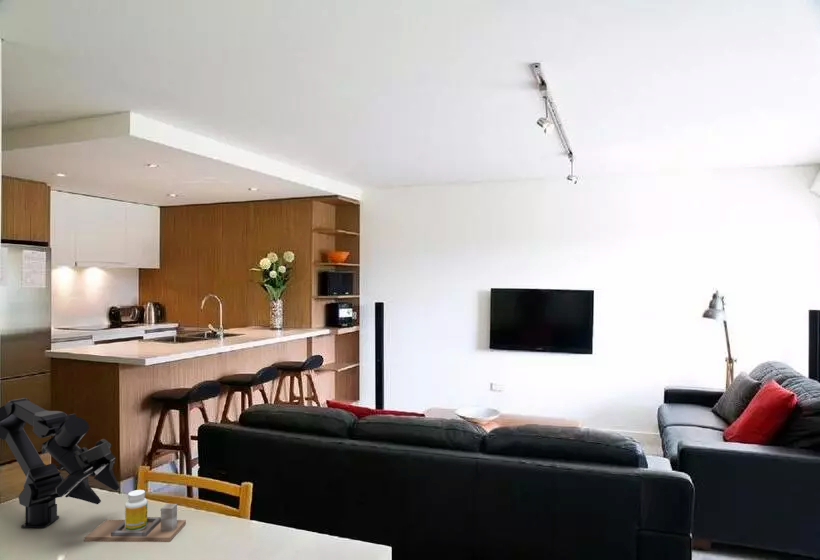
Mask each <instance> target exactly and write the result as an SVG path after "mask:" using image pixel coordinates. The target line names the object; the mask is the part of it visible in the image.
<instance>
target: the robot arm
mask: <svg viewBox="0 0 820 560" xmlns="http://www.w3.org/2000/svg"><path fill="white" fill-rule="evenodd" d="M26 424H29V425H30V426H32V432H33V433H34V434H35V435H36V436H37V437H38V438H39V439H42V438H47V437H50V438H49V439H47V440H46V441H44V442H42V443H41V453H42V454H43V455H44V454H46V453H48V454H49V455H50V456H51V457H52V458H53V459H54V460H55V461H56V462H57V463H58V464H59V465H58V466H57V465H56V464H55V463H53V462H52V463H48V464H45V462H44V460H43V459H42V457H41V456H40V454H39V453H38V451H37V449H36V448H35V446H34V444H33V442H32V441H31V439H30V438H29V436H28V434H27V432H26V431H25V429H24V428H25V426H26ZM89 427H90V426H89V422H88V421H86V420H85V419H84V418H83V417H79V416H77V415H76V413H72V414H67V413H65V412H64V411H60V410H47V409H45V408H43V407H41V406H39V405H37V404H36V403H34V402H32V401H30V399H29V398H25V397H22V398H21V397H20V398H17V399H16V398H15V399H11V400H9V401H7V402H6V403H5V404H4V405H3V406H0V439H1V440H3V441H5V442H6V444H7V445H8V447H9V449H10V451H11V453H12V454H13V456H14V458H15V460H16V462H17V463H18V464H19V467H20V468H21V470H22V472H23V474H24V476H25V480H24V483H23V488H22V490H21V492H20V493H19V495H18V502H19V505H21V506H24V507H25V511H24V515H25V517H24V518H25V519H24V520H25V521H24V523H23V524H22V525H20V527H21V528H23V529H24V528H25V529H27V528H28V529H30V528H31V529H33V528H35V529H36V528H38V529H40V528H41V529H42V528H43V529H44V528H46V527H48V526H49V525H51V524H52V523H54V522H55V521H56V520H58V519H60V515H58V504H57V502H56V499H57V498H63V497H65V498H72V499H77V500H80V501H81V500H82V501H85V502H88V503H92V504H95V505H99V504H100V503H101V502H102V500H101V499H100V497H99V496H98V494H97V492H96V491H94V489H93V488H92V487H91V486H90V484H89V476H94V477H93V479H94V480H96V481H98V482H99V483H101V484H103V485H105V486H106V487H108V488H110V489H112V490H113V491H118V490H119V489H120V485H119V483H118V481H117V478H116V475H115V474H114V470H113V467H114V464H115V459H116V456H115V455H114V454H113V452H112V451H111V448H112V447H111V446H112V444H111V442H109V441H108V440H107V439H105V438H102V439H100V440H98V441H97V442H95V445H94V447H91V448H90V449H88V448H87V446H83V447H80V446H79V445H78V443H79V442H80V441H81V440H82V438H83V437H84V436H86V434H87V432H89ZM51 436H52V437H51ZM62 469H64V470H65V471H66V472H67V473H68V475H66V477H65V478H64V477H63V476H62V475H61V474H62V473H61V470H62ZM59 470H60V471H59Z"/></svg>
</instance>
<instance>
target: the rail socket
mask: <svg viewBox="0 0 820 560" xmlns="http://www.w3.org/2000/svg"><path fill="white" fill-rule="evenodd" d="M186 524H187V520H186V519H185V520H184V519H183V520H182V519H178V503H165V504H164V505H162V507H161V508H160V516H159V517H158V516H152V517H151V516H150V517H149V516H147V527H146V528H145V529H143V530H141V531H126V530H125V519H105V520H104V521H103V522H101V523H100V524H99V525H98V526H96V527H95V528H94V529H93V530H92V531H90V532H89V533H87V534H86V535H85V536H84V542H171V541H172V540H173V539H174V537H175V536H176V535H178V533H179V532H180V531H181V530H182V528H184V527H185V525H186Z"/></svg>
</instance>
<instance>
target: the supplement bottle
mask: <svg viewBox="0 0 820 560" xmlns="http://www.w3.org/2000/svg"><path fill="white" fill-rule="evenodd" d="M147 517H148V499H147V498H146V492H145V490H144V489H136V490H131V491H129V492H128V494H127V501H126V502H125V504H124V520H125V530H126V531H141V530H143V529H145V528H146V527H147Z"/></svg>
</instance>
